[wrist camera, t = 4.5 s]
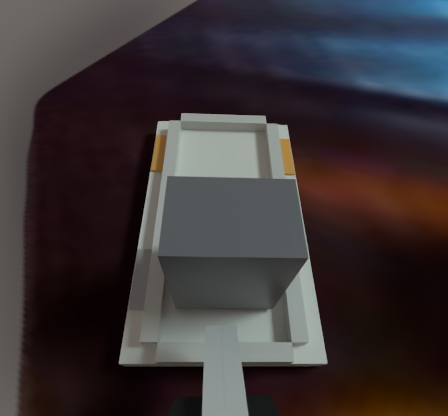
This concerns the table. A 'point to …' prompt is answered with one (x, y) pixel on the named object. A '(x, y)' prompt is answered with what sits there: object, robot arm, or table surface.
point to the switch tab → (230, 241)
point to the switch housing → (199, 318)
